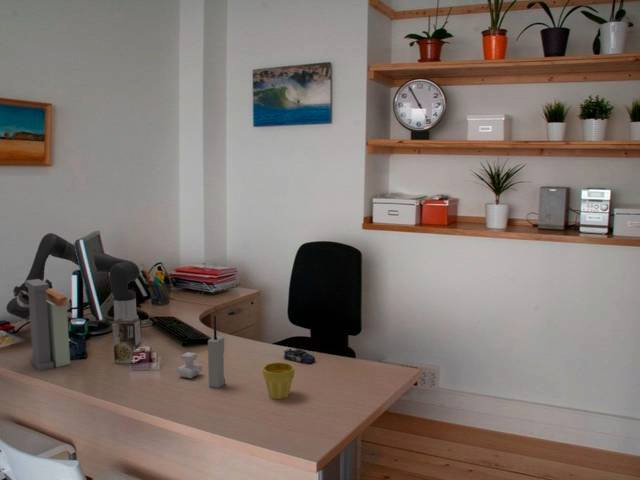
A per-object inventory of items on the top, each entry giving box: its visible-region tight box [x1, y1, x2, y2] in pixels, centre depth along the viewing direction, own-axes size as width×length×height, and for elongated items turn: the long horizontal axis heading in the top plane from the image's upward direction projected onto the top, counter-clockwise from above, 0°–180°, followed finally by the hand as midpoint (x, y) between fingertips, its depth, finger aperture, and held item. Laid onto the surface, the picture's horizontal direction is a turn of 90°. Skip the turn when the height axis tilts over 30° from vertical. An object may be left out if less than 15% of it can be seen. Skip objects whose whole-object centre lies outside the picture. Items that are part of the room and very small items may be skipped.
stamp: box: [176, 351, 203, 379], centre depth 222 cm, size 9×7×8 cm
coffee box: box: [111, 318, 143, 365], centre depth 237 cm, size 9×6×16 cm
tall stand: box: [24, 279, 55, 371], centre depth 232 cm, size 5×12×32 cm, turn 40°
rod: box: [46, 288, 68, 306], centre depth 236 cm, size 3×24×3 cm, turn 40°
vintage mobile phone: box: [207, 315, 226, 389], centre depth 212 cm, size 4×5×25 cm
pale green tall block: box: [46, 299, 71, 368], centre depth 236 cm, size 5×12×24 cm, turn 40°
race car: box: [283, 348, 316, 365], centre depth 239 cm, size 15×7×4 cm, turn 63°
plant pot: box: [262, 361, 295, 400], centre depth 204 cm, size 10×10×10 cm
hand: (36, 283), depth 250 cm, fingers open, 8 cm apart
